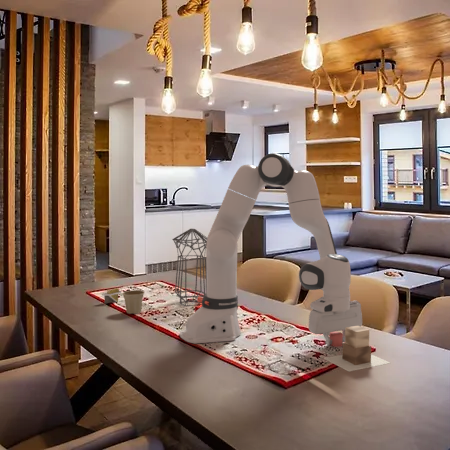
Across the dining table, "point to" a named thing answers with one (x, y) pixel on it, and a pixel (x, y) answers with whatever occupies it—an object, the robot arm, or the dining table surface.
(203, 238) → the geometric lantern
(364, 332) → the beech cube
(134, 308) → the flower pot
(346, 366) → the board
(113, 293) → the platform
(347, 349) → the walnut base
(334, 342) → the red capsule
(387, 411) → the dining table surface
